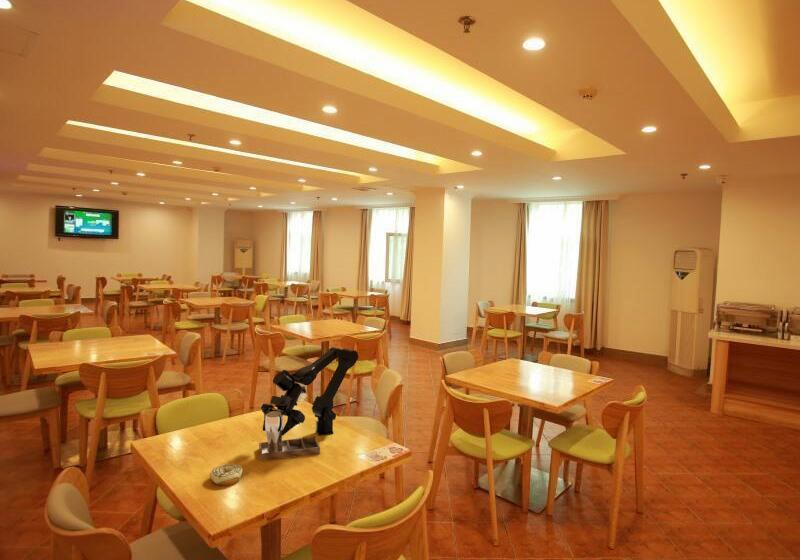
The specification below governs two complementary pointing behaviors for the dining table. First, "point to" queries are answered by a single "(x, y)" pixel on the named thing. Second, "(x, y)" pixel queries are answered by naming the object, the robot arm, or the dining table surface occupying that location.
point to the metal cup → (274, 431)
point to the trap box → (291, 448)
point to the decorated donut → (226, 474)
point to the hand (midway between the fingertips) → (272, 432)
